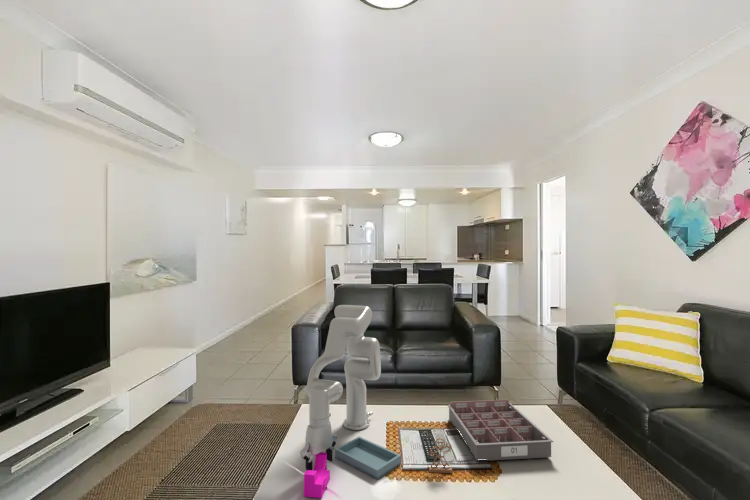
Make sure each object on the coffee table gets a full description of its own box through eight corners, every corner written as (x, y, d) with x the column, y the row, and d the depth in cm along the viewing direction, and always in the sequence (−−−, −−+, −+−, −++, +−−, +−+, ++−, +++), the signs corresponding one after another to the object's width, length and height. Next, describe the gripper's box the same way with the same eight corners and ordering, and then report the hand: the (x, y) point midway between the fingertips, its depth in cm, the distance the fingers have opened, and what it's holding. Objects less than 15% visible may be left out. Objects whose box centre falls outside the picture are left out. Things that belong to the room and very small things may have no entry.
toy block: (321, 498, 131) (321, 475, 131) (304, 496, 132) (303, 474, 132) (333, 472, 145) (333, 452, 145) (317, 471, 146) (317, 451, 146)
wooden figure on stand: (428, 472, 145) (428, 440, 145) (428, 466, 149) (428, 435, 149) (452, 473, 145) (452, 441, 145) (451, 467, 149) (451, 436, 149)
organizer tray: (475, 465, 150) (475, 440, 150) (447, 420, 190) (447, 400, 190) (554, 461, 153) (554, 436, 153) (509, 418, 193) (509, 398, 193)
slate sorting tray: (359, 444, 166) (359, 436, 166) (401, 464, 151) (401, 455, 151) (335, 457, 156) (335, 448, 156) (377, 480, 140) (377, 470, 140)
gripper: (330, 410, 154) (330, 453, 154) (294, 425, 141) (294, 471, 141) (342, 415, 149) (342, 460, 149) (307, 431, 136) (307, 479, 136)
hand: (319, 465), depth 145 cm, fingers open, 9 cm apart
